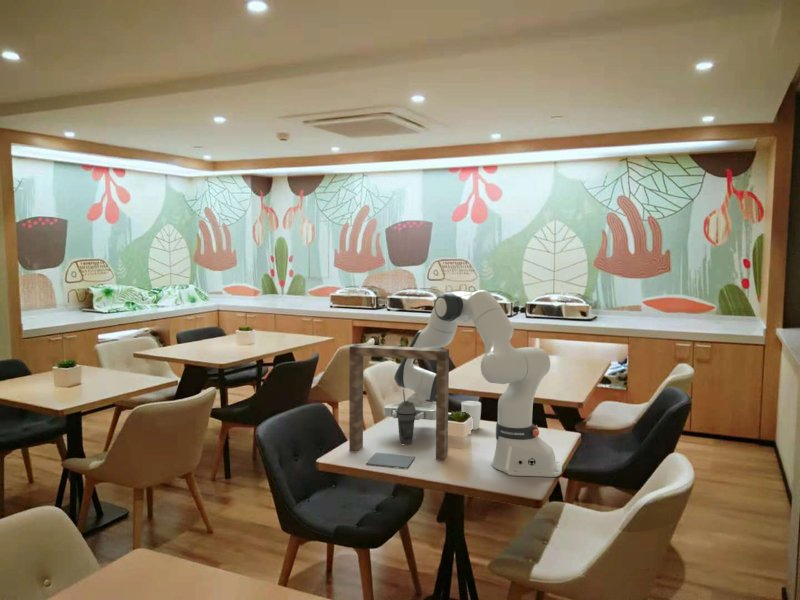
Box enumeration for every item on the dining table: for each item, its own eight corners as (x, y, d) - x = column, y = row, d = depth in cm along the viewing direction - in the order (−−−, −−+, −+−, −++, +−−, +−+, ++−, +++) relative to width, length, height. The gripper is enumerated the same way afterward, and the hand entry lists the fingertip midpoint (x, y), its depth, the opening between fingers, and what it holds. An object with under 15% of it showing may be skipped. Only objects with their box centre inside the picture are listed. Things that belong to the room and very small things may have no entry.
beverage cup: (413, 447, 216) (414, 392, 214) (394, 445, 217) (394, 391, 216) (417, 440, 223) (418, 387, 221) (398, 439, 224) (398, 386, 223)
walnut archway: (447, 454, 208) (449, 348, 205) (444, 460, 202) (445, 351, 199) (355, 445, 217) (355, 344, 214) (349, 450, 211) (349, 346, 208)
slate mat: (415, 457, 204) (415, 456, 204) (407, 468, 194) (407, 467, 193) (376, 454, 208) (376, 452, 208) (366, 464, 197) (366, 463, 197)
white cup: (483, 426, 243) (483, 401, 242) (477, 431, 236) (477, 406, 235) (464, 423, 246) (464, 399, 245) (458, 428, 239) (458, 404, 238)
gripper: (388, 397, 234) (378, 406, 221) (440, 401, 229) (432, 410, 215) (388, 413, 235) (378, 423, 221) (440, 417, 229) (432, 427, 216)
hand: (405, 417), depth 218 cm, fingers closed on beverage cup, 7 cm apart
